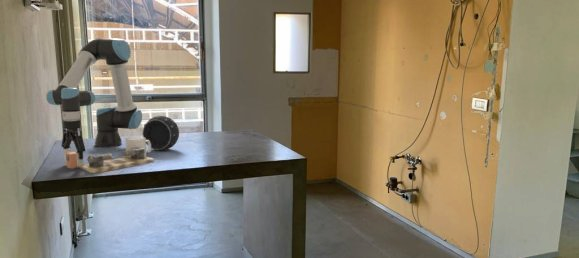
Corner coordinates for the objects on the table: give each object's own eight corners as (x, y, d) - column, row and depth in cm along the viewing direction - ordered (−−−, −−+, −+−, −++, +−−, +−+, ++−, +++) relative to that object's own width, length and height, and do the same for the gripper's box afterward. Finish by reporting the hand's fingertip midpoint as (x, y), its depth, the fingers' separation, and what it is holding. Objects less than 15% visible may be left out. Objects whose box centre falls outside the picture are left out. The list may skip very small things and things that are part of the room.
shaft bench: (93, 173, 201) (92, 159, 200) (79, 168, 210) (78, 155, 209) (153, 161, 225) (153, 149, 224) (138, 157, 234) (138, 145, 233)
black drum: (173, 153, 246) (172, 118, 243) (140, 151, 250) (139, 116, 246) (181, 149, 256) (180, 115, 253) (150, 147, 260) (149, 114, 257)
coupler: (66, 167, 212) (65, 153, 211) (78, 164, 216) (77, 151, 215) (70, 168, 209) (69, 154, 208) (82, 166, 214) (81, 152, 212)
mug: (145, 153, 245) (144, 135, 243) (155, 156, 238) (154, 137, 237) (122, 157, 235) (121, 138, 233) (132, 160, 228) (131, 140, 226)
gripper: (52, 118, 214) (54, 161, 217) (75, 123, 198) (78, 168, 201) (67, 117, 220) (70, 158, 223) (91, 121, 204) (94, 166, 207)
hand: (74, 163), depth 212 cm, fingers open, 12 cm apart
